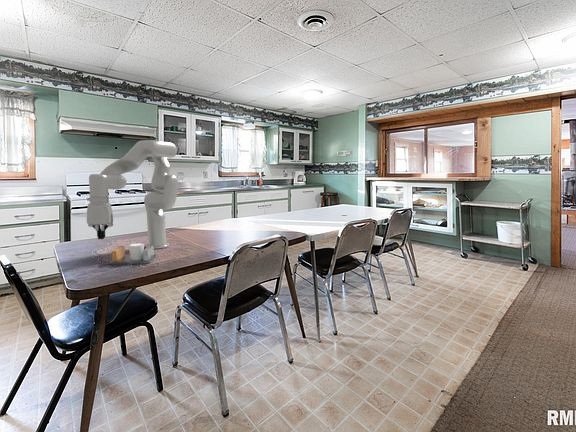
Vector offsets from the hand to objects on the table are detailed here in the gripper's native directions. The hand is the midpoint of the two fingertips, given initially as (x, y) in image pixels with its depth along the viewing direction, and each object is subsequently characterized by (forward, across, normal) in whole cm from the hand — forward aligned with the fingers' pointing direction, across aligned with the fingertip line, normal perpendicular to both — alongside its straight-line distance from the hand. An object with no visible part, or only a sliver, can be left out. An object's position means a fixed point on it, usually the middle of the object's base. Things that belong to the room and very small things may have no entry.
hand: (101, 238), depth 147 cm
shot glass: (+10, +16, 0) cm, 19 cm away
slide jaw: (+10, +7, +1) cm, 12 cm away
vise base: (+11, +14, +1) cm, 18 cm away
